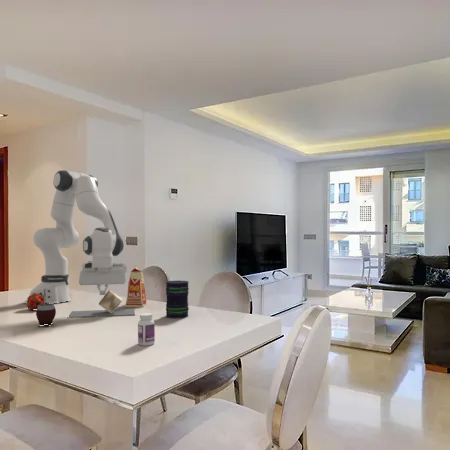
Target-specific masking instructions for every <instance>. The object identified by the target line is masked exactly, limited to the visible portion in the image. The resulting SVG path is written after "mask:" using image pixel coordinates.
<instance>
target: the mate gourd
mask: <svg viewBox="0 0 450 450" xmlns="http://www.w3.org/2000/svg"><path fill="white" fill-rule="evenodd" d="M45 297H46V289H44V304H43V305H39V306H38V308H37V311H35V315H36V318H37V321H38V322H37V323H38V326H39V325H44V324H48V325H51V323H53V324H54V319H55V317H56V315H57V311H56V307H55V304H45Z"/></svg>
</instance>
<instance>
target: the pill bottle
mask: <svg viewBox="0 0 450 450" xmlns="http://www.w3.org/2000/svg"><path fill="white" fill-rule="evenodd" d="M139 319H140V320H139V321H137V344H138V346H139V345H140V346H143V347H146V346H152V345H154V344H155V342H156V341H155V340H156V339H155V338H156V337H155V334H156V332H155V331H156V330H155V321H154V320H153V313H151V312H149V313H146V312H145V313H141V314H139Z"/></svg>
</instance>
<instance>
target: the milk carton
mask: <svg viewBox="0 0 450 450" xmlns="http://www.w3.org/2000/svg"><path fill="white" fill-rule="evenodd" d="M127 286H128V287H127V295H126V301H125V306H124V307H125V308H144V307H146V306H147V305H148V303H147V294H146V293H147V291H146V286H145V278H144V273H143V272H142V271H141V270H139V268H138V267H137V266H136V265H134V268H133V269H132V270H131V271H130V274H129V278H128V285H127Z"/></svg>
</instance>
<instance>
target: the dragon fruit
mask: <svg viewBox="0 0 450 450" xmlns="http://www.w3.org/2000/svg"><path fill="white" fill-rule="evenodd" d="M27 299H28V301H27V304H26V306H27V309H28V310H31V309H37V308H38V306H39V305H43V304H44V295H41V294H39V293H37V294H36V293H33V294H32V295H31V296H28V297H27V298H26V300H27ZM45 301H46V299H45ZM45 304H48V303H47V302H45Z"/></svg>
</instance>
